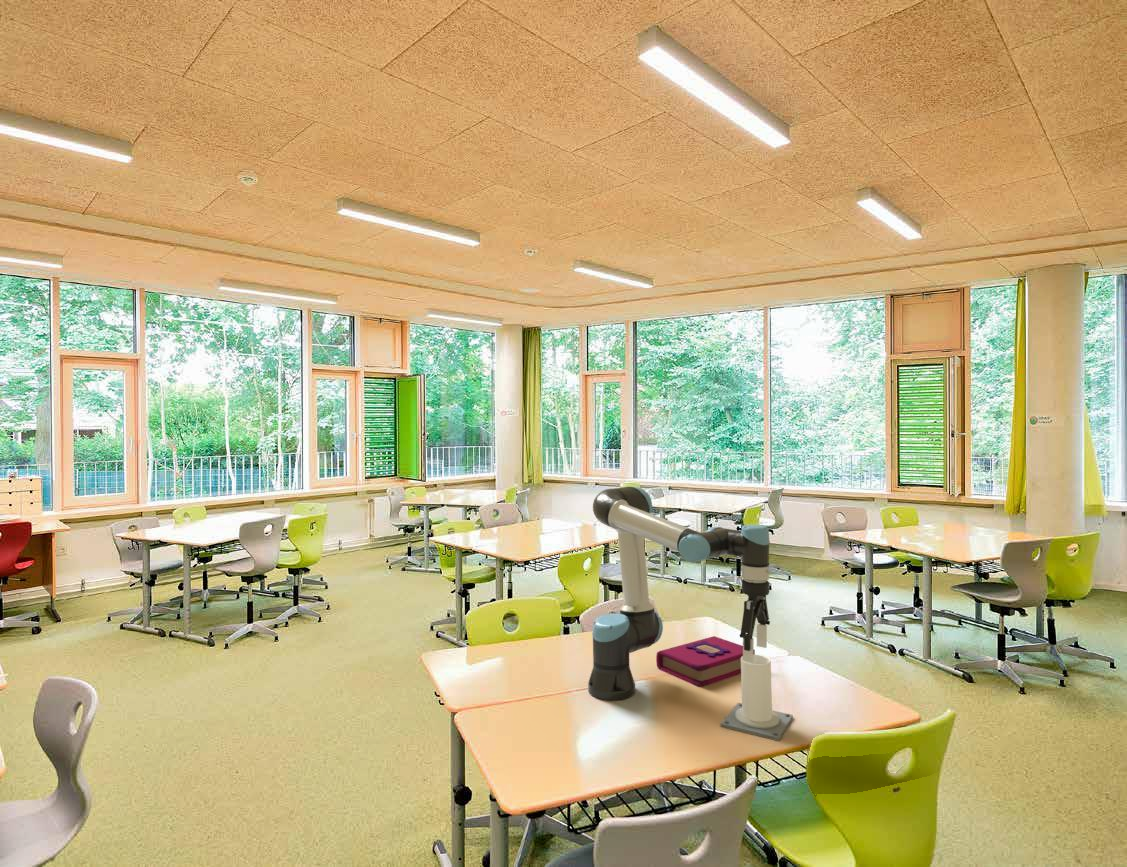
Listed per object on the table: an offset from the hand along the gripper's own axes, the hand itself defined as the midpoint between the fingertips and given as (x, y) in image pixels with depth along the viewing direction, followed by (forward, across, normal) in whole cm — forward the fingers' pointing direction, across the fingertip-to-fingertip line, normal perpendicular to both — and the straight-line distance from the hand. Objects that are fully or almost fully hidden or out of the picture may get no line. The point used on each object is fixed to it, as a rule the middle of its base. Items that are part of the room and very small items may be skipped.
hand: (755, 653), depth 179 cm
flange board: (+19, 0, -1) cm, 19 cm away
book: (+21, +32, +26) cm, 46 cm away
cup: (+18, 0, -1) cm, 18 cm away
